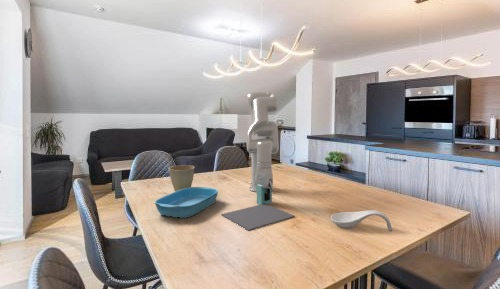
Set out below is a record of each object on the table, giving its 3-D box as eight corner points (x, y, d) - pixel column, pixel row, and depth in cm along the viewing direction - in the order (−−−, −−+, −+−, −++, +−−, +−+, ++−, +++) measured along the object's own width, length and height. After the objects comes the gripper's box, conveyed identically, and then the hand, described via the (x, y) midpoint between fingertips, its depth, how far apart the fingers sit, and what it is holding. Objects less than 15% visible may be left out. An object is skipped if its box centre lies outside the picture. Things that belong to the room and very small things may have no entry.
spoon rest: (330, 230, 117) (331, 213, 116) (330, 219, 128) (330, 204, 128) (394, 235, 111) (394, 217, 110) (387, 224, 123) (388, 207, 122)
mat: (221, 215, 134) (221, 214, 134) (265, 204, 149) (265, 203, 149) (248, 231, 116) (248, 229, 116) (294, 217, 131) (294, 215, 131)
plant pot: (164, 196, 165) (163, 169, 163) (177, 189, 179) (176, 164, 178) (188, 198, 162) (187, 170, 160) (199, 191, 176) (198, 165, 174)
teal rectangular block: (256, 203, 151) (256, 184, 150) (267, 200, 155) (267, 182, 154) (261, 205, 148) (261, 186, 147) (271, 202, 152) (271, 184, 151)
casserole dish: (190, 196, 166) (189, 184, 166) (224, 200, 158) (224, 187, 158) (145, 218, 132) (145, 203, 131) (187, 224, 124) (186, 208, 123)
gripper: (249, 163, 154) (249, 196, 156) (268, 168, 140) (268, 204, 142) (260, 161, 158) (260, 194, 160) (280, 166, 144) (280, 201, 146)
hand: (264, 198), depth 151 cm, fingers closed on teal rectangular block, 4 cm apart
